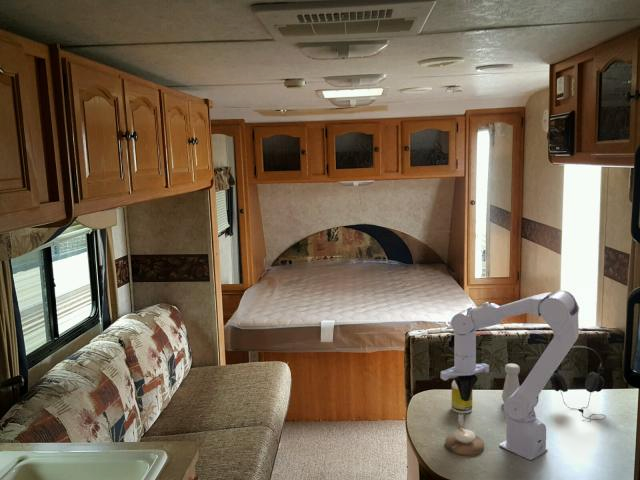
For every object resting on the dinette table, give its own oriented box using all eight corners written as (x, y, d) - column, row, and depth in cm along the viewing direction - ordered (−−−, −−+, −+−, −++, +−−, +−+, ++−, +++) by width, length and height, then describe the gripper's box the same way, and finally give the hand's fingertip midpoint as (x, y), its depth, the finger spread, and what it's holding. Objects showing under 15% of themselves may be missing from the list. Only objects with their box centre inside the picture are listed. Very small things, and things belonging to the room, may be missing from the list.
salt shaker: (500, 400, 172) (500, 361, 170) (519, 400, 171) (519, 361, 170) (504, 408, 167) (504, 368, 165) (523, 409, 166) (524, 368, 164)
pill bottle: (467, 416, 163) (467, 381, 161) (448, 411, 167) (448, 376, 165) (475, 408, 168) (475, 374, 166) (456, 403, 171) (456, 369, 170)
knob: (477, 442, 143) (477, 427, 142) (456, 442, 143) (456, 427, 143) (470, 428, 151) (470, 413, 150) (450, 428, 151) (450, 413, 150)
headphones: (558, 421, 158) (560, 355, 155) (546, 403, 169) (548, 342, 166) (613, 422, 156) (616, 355, 153) (597, 404, 167) (600, 342, 164)
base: (491, 446, 145) (491, 439, 145) (467, 460, 139) (468, 452, 139) (461, 432, 153) (461, 425, 153) (437, 444, 147) (437, 437, 147)
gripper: (478, 345, 157) (478, 389, 159) (434, 352, 152) (434, 398, 154) (493, 352, 150) (493, 399, 152) (448, 361, 145) (448, 409, 147)
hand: (464, 399), depth 153 cm, fingers closed
